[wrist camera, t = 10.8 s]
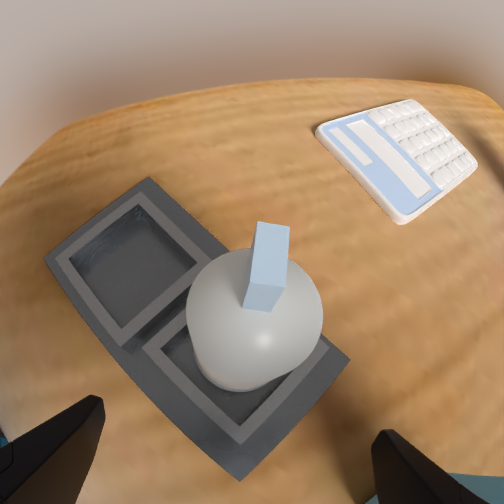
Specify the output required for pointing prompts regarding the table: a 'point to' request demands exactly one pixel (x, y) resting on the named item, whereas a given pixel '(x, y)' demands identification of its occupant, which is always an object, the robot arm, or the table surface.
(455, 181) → the calculator
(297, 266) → the plug
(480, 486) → the data package
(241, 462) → the panel
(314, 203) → the table surface
